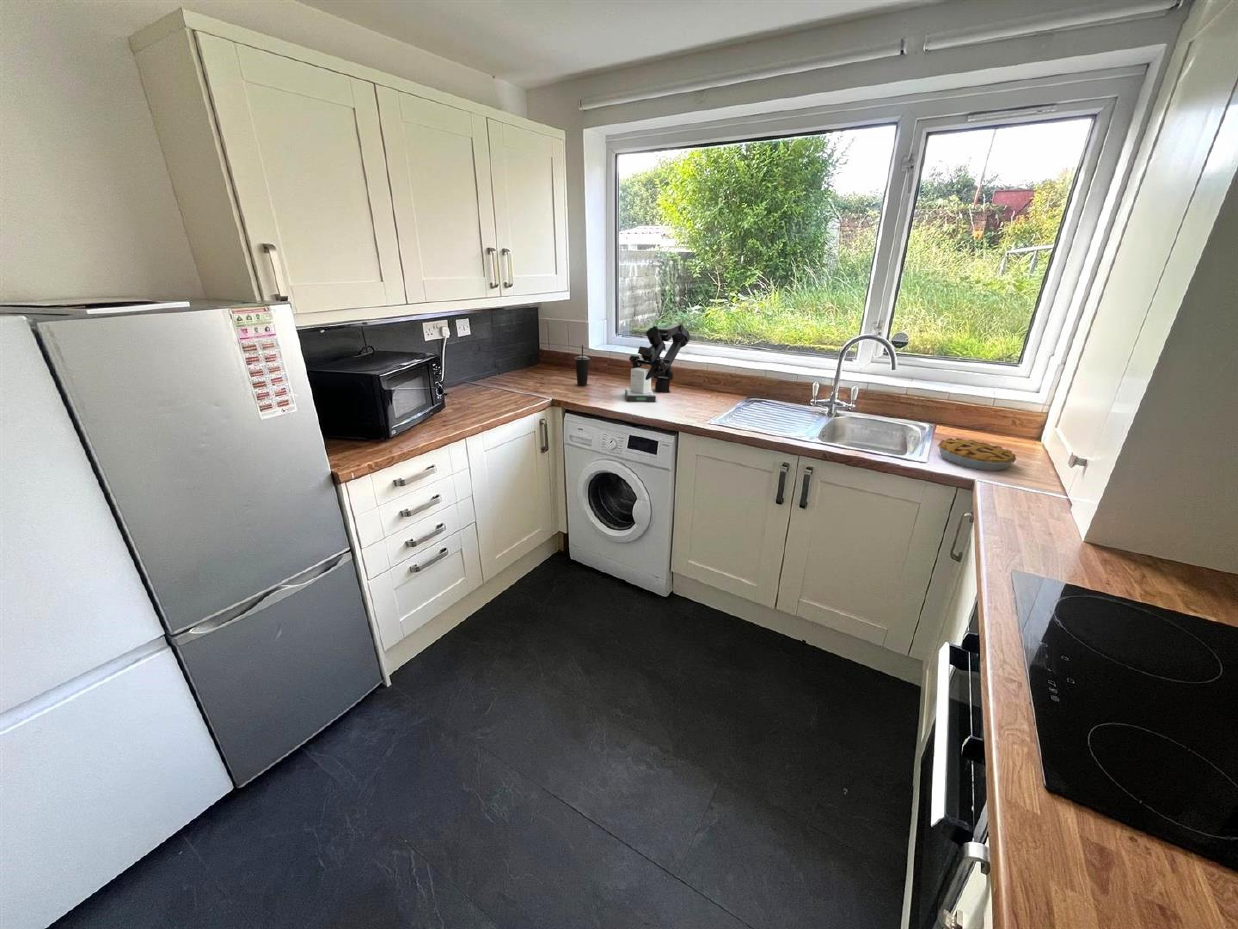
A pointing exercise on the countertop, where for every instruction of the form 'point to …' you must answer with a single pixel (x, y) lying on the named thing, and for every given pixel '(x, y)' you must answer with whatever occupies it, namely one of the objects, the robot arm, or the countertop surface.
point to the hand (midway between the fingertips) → (639, 378)
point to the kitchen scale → (639, 396)
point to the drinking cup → (582, 369)
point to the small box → (640, 381)
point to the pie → (976, 454)
